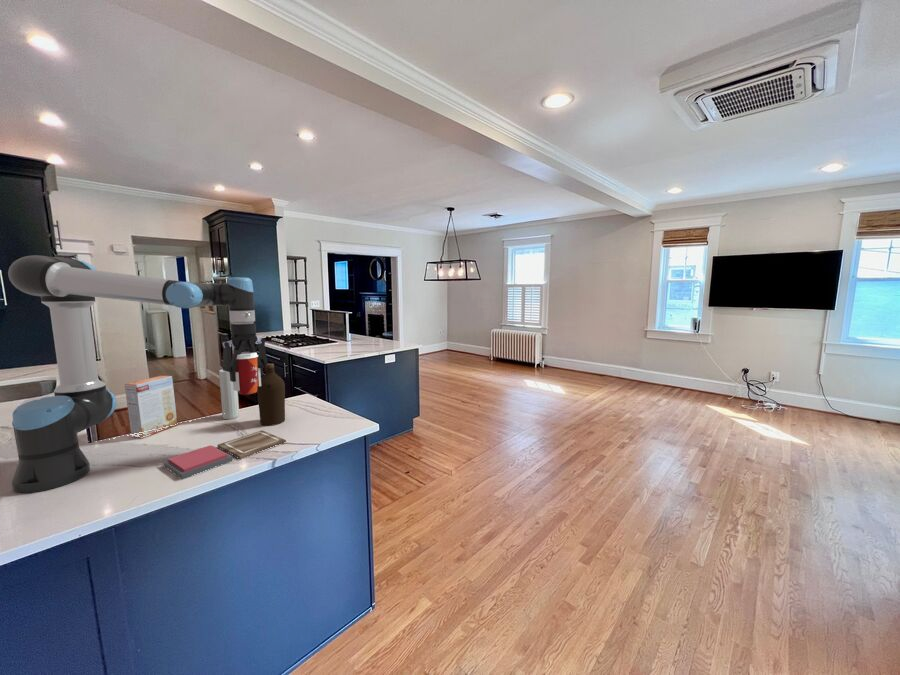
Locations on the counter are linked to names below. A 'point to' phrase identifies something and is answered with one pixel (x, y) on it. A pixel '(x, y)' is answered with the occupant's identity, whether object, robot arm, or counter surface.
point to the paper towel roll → (228, 396)
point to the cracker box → (151, 404)
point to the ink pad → (197, 461)
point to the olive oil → (271, 397)
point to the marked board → (251, 444)
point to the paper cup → (247, 372)
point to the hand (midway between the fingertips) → (247, 387)
